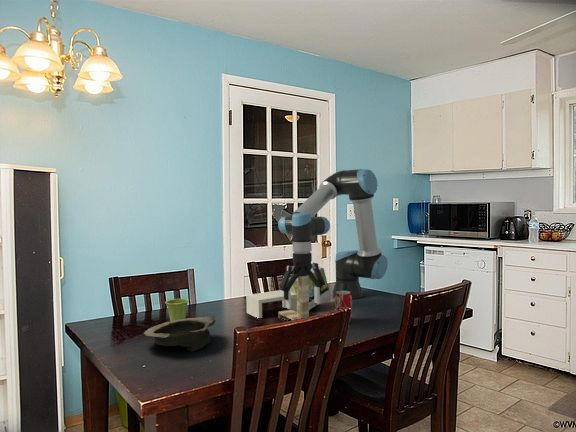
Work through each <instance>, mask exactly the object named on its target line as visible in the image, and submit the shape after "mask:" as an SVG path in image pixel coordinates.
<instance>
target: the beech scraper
mask: <svg viewBox="0 0 576 432" xmlns="http://www.w3.org/2000/svg"><path fill="white" fill-rule="evenodd" d="M277 315H278V316H277V317H278V319H280V318H282V317H287V318H289V319H291V320H290V321H293V320H296V319H301V318H307V317H309V318H310V310H309V276H299V277H298V278H297V312H295V311H293V310H291V309H284V310H279V311H277Z"/></svg>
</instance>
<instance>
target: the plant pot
mask: <svg viewBox="0 0 576 432" xmlns="http://www.w3.org/2000/svg"><path fill="white" fill-rule="evenodd" d="M188 303H189V299H186V298H175V299H174V298H173V299H169V300H166V301H165V304H166V307H167V309H168V310H167V311H168V316H169V322H170V321H174V320H180V319H186V317H187V307H188Z"/></svg>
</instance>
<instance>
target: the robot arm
mask: <svg viewBox="0 0 576 432" xmlns="http://www.w3.org/2000/svg"><path fill="white" fill-rule="evenodd" d="M376 176H377V175H375V173H374V172H373V171H372V170H370V169H363V168H359V169H346V170H344V169H343V170H339V171H337V172H334V173H333V174H330V176H328V177H327V178H326V179H324V180H323V181H322V182H321V183H320V184H319V187H318V188H317V189H316V190H315V191H314V193H312V194H311V195H310V196H309V197H308V198H307V199H305V201H304V202H303V203H302V204H301V205H300V206H298V208H297V209H295V210H294V211H292V214H290V215H289V216H288V215H286V216H282V217H280V219H279V220H278V223H277V225H278V226H277V227H278V229H279V231H280V233H281V234H284V235H292V238H291V239H292V242H291V243H292V252H293V253H292V265H286V266H285V272H284V274H283V277H282V280H281V282H280V285H279V288H278V290H282V291H284V300H286V308H288V309H287V310H289V309H291V292H289V291H290V288H291V287H292V285H293V284H294V282H295V281H296V279H297V278H298V277H299V276H307V275H308V276H309V278H310V279H311V280H312V281H313V283H314V284H315V285H316V286H317V287H314V300H315V303H317V304H318V305H320V304H321V303H320V295H321V288H322V287H323V285H325V281H324V279H323V277H322V275H321V273H320V270H319V267H320V266H319V263H318V262H312V259H313V258H312V257H313V256H312V255H313V253H312V237H313V236H314V237H315V236H322V235H325V234H328V232H329V231H330V228H331V224H330V221H329V220H328V218H327V217H326V216H320V215H319V216H316V214H317V213H319V212H320V210H322V209H323V207H324V206H326V205H327V203H329V202H330V200H334V199H335V198H337V197H338V196H342V195H345V196H346V195H347V196H348V199H349V201H350V202H352V205H353V211H354V219H355V225H356V234H357V238H358V239H357V240H358V246H359V250H354V249H353V250H347V251H346V250H345V251H340V252H339V251H338V252H337V253H336V254H335V259H334V260H335V261H334V262H335V283H334V286H333V290H332V297H333V298H335V295H336V292H337V291H349V292H350V294H351V296H352V300H355V299H356V300H357V299H361V298H363V290H362V286H361V284H360V283H361V282H360V281H359V278H361V279H362V278H363V279H371V280H381V279H382V278H383V277H384V276H385V274H386V272H387V270H388V264H389V261H388V258H387V256H386V255H384V254H382V249H381V248H379V246H378V242H377V233H376V227H375V226H376V225H375V218H374V211H373V204H372V203H373V202H372V201H373V200H372V199H374V197H375V193H377V191H378V180H377V177H376ZM311 268H313V270H314V272H315V275H316V277H317V278H316V277H315V276H314V275H313V273H312V271H311ZM290 277H291V278H290ZM289 278H290V279H289ZM317 279H318V280H317ZM288 280H289V281H288ZM286 308H285V309H286Z"/></svg>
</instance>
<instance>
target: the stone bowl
mask: <svg viewBox="0 0 576 432" xmlns="http://www.w3.org/2000/svg"><path fill="white" fill-rule="evenodd" d="M215 317H216V316H215V315H209V316H204V317H201V316H200V317H188V318H186V319H180V320H174V321H170V320H169V321H166V322H163V323H160V324H157V325H154V326H152V327H149V328H148V329H147V330H145V331H144V332H143V334H144V335H145V336H146V337H153V339H154V342H155V343H156V344H157V345H159V346H165V347H177V346H180V347H182V348H183V347H186V350H187V352H191V353H192V352H196V351H197V350H201V349H202V348H205V347H206V345H208V344H210V342H211V333H210V332H211V331H210V330H209V329H208V328H209V327H213V326H214V325H215V323H216V319H215Z"/></svg>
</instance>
